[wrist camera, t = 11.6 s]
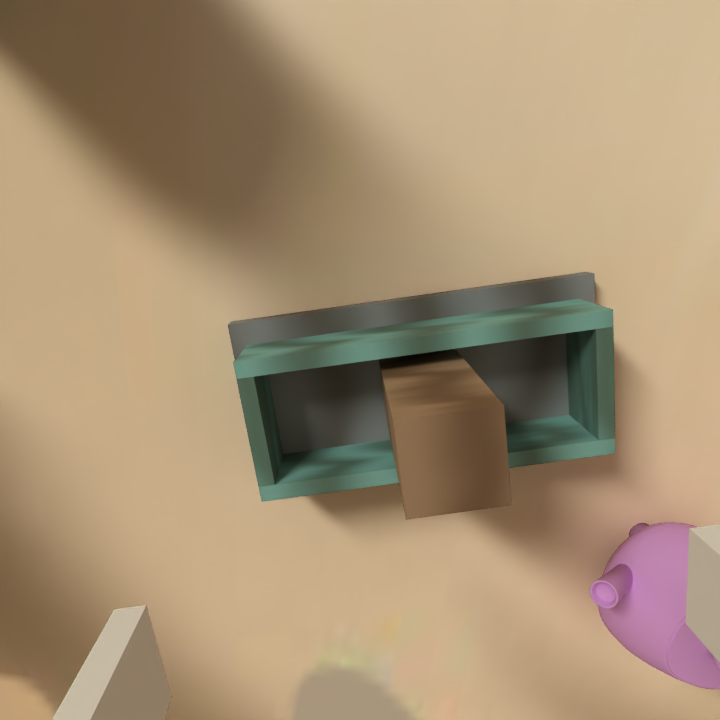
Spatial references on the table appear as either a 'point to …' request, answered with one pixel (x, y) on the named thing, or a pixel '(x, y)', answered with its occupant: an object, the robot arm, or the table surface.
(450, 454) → the walnut block
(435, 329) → the green tray
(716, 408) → the table surface
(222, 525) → the table surface
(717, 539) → the robot arm
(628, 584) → the teapot
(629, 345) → the table surface
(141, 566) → the table surface
